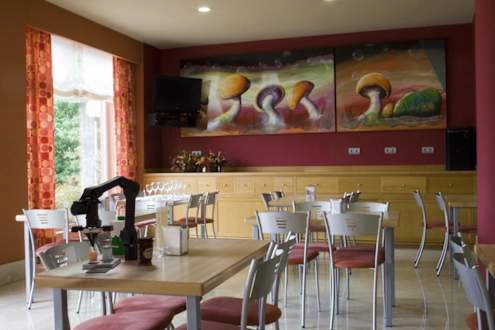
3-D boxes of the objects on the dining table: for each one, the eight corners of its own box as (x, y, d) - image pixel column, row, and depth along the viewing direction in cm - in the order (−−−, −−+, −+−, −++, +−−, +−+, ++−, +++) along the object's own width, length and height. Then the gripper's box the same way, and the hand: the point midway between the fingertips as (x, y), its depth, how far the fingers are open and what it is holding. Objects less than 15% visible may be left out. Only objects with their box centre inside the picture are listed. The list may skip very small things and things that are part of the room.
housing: (120, 262, 270) (120, 258, 270) (112, 268, 254) (112, 264, 254) (92, 262, 270) (92, 258, 270) (82, 269, 254) (82, 264, 254)
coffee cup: (158, 263, 264) (157, 236, 264) (149, 266, 256) (148, 239, 256) (142, 262, 267) (141, 236, 267) (133, 265, 259) (132, 238, 259)
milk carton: (131, 252, 299) (130, 216, 298) (121, 255, 290) (120, 217, 290) (117, 251, 302) (116, 215, 302) (107, 254, 293) (106, 217, 293)
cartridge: (113, 262, 268) (113, 245, 268) (111, 264, 263) (110, 247, 263) (103, 263, 268) (103, 245, 268) (100, 265, 263) (100, 247, 263)
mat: (110, 268, 253) (110, 267, 253) (105, 272, 244) (105, 271, 244) (91, 269, 253) (91, 268, 253) (85, 273, 244) (85, 272, 244)
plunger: (98, 260, 259) (97, 251, 259) (95, 261, 256) (95, 252, 256) (90, 260, 259) (90, 251, 259) (88, 261, 256) (88, 252, 256)
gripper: (116, 211, 265) (116, 243, 265) (77, 212, 266) (78, 244, 266) (110, 214, 254) (110, 247, 254) (70, 215, 254) (71, 248, 255)
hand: (92, 246), depth 257 cm, fingers closed
